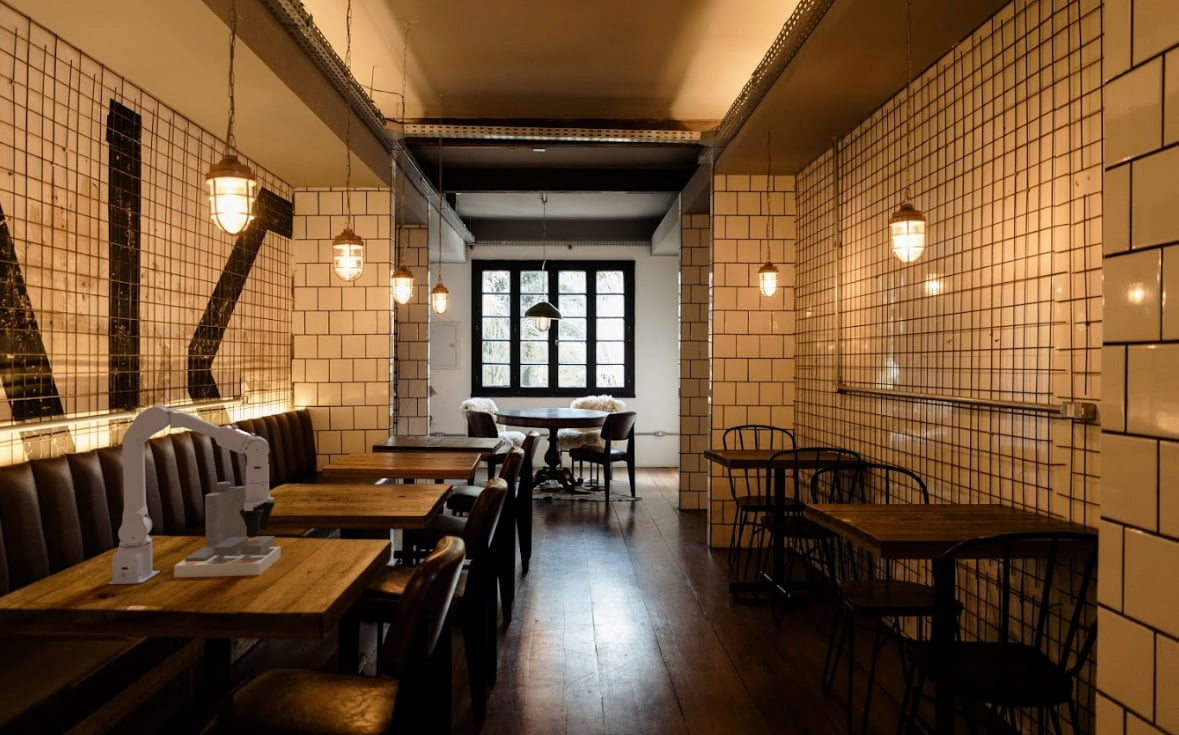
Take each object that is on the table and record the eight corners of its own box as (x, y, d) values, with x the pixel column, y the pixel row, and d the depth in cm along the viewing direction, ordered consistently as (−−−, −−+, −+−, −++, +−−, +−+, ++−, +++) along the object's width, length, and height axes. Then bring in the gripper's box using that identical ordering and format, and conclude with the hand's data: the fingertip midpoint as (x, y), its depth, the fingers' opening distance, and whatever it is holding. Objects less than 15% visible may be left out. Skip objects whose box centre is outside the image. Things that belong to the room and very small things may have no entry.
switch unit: (259, 574, 193) (259, 562, 193) (174, 577, 191) (174, 564, 191) (280, 557, 210) (280, 546, 210) (202, 559, 208) (202, 548, 208)
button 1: (205, 565, 195) (205, 557, 195) (185, 566, 195) (185, 558, 195) (222, 554, 206) (222, 546, 206) (203, 555, 206) (203, 547, 206)
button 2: (260, 554, 196) (260, 546, 196) (240, 554, 196) (240, 546, 196) (274, 544, 207) (274, 536, 207) (255, 544, 207) (255, 536, 207)
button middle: (233, 555, 196) (232, 546, 196) (213, 555, 195) (213, 547, 195) (248, 544, 207) (248, 536, 207) (229, 545, 206) (229, 537, 206)
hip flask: (213, 558, 209) (212, 487, 209) (200, 557, 210) (199, 486, 210) (248, 544, 225) (247, 477, 225) (236, 543, 226) (235, 477, 225)
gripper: (263, 486, 195) (264, 538, 195) (281, 477, 209) (281, 525, 209) (235, 486, 194) (236, 539, 194) (255, 478, 208) (255, 526, 209)
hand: (258, 532), depth 202 cm, fingers open, 7 cm apart
